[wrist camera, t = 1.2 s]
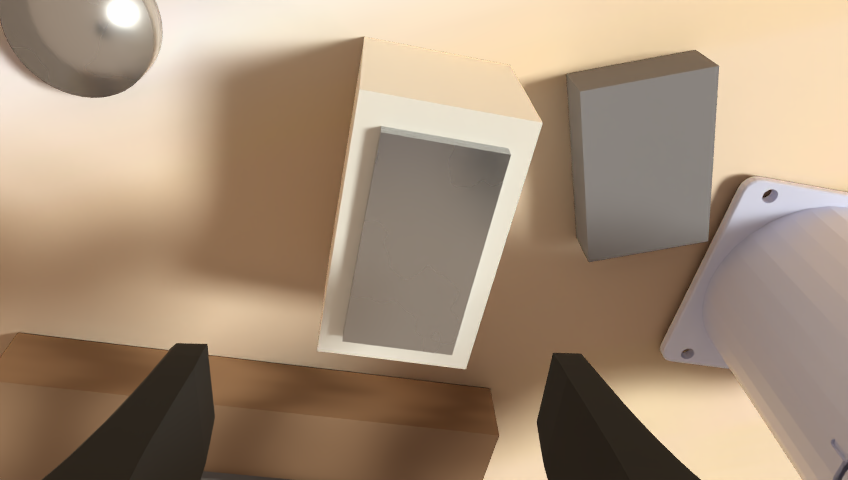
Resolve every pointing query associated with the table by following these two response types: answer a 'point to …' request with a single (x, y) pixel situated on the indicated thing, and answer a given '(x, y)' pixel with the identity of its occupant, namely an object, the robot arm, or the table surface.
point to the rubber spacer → (642, 153)
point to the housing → (424, 203)
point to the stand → (248, 416)
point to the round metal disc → (84, 42)
